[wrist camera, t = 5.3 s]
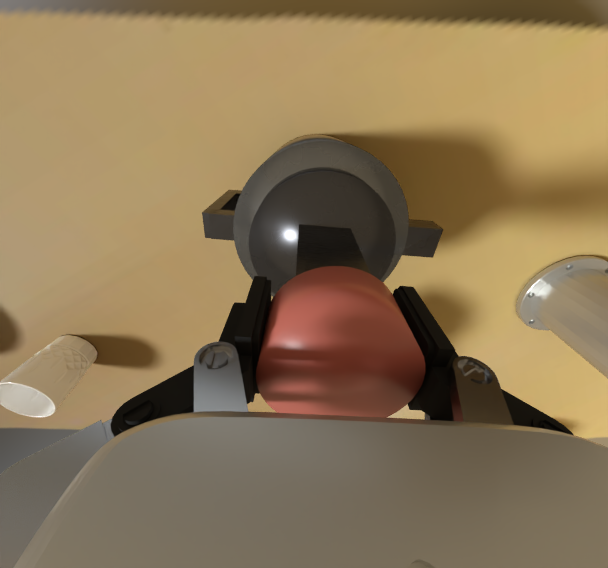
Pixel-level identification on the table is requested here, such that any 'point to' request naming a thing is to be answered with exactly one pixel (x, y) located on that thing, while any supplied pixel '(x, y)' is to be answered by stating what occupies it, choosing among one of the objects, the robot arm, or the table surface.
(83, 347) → the white cup
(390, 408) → the red rounded piece
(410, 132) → the table surface
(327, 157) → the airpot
